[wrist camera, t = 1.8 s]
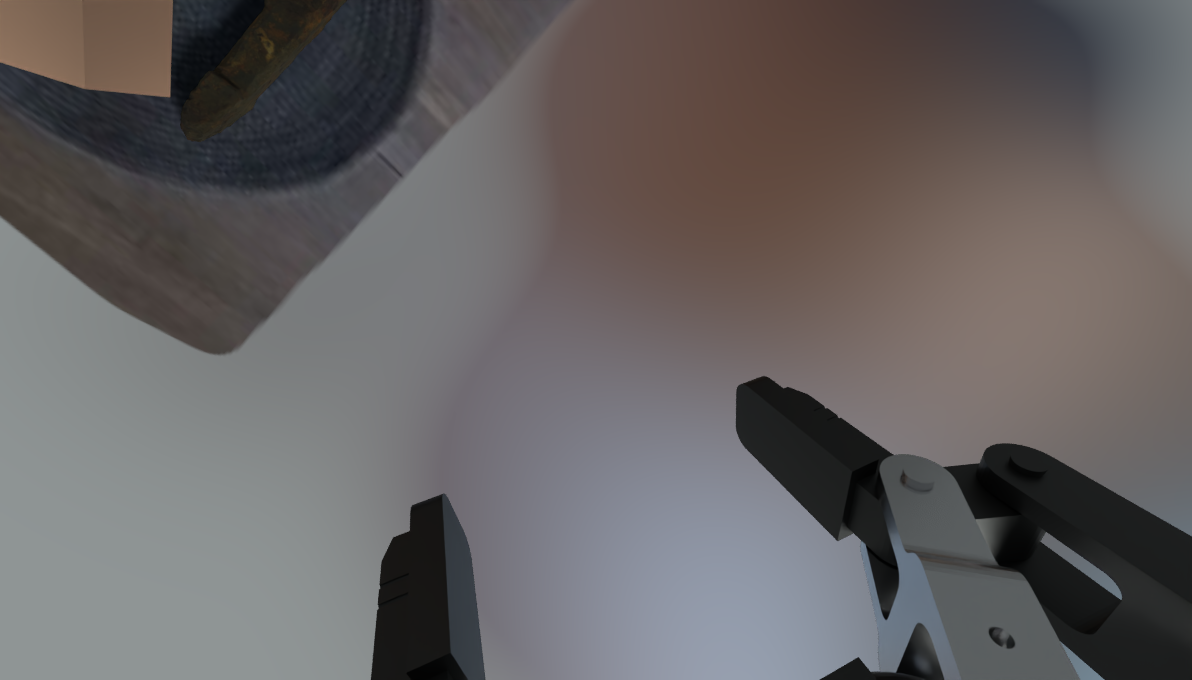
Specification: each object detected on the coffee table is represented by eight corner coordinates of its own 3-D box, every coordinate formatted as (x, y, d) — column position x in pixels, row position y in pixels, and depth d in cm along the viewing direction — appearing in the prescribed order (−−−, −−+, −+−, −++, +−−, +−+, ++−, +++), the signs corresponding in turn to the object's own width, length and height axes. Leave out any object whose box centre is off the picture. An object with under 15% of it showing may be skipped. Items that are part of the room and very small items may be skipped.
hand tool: (325, -58, 34) (310, -82, 30) (369, -6, 36) (360, -22, 32) (166, 110, 36) (132, 108, 32) (217, 151, 38) (191, 153, 34)
